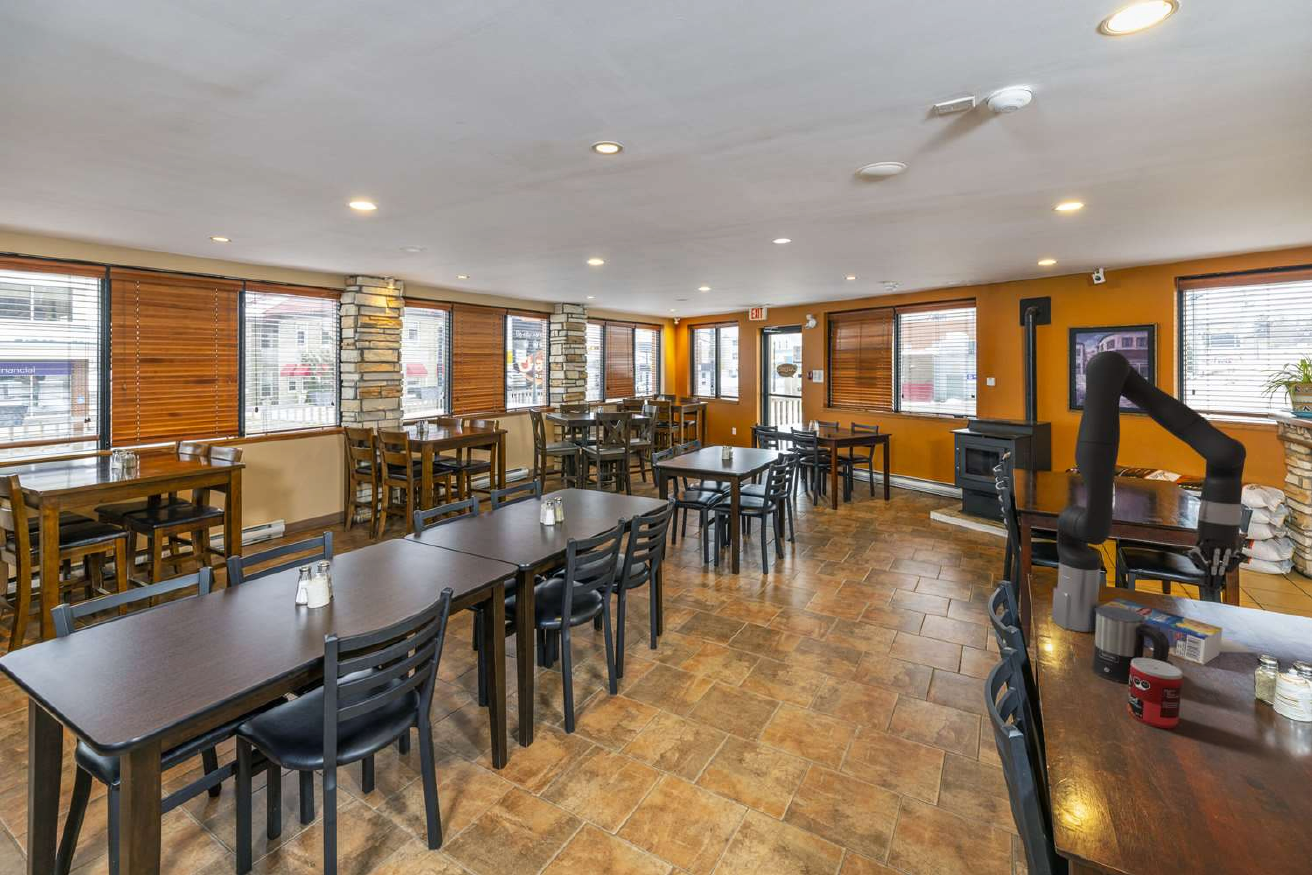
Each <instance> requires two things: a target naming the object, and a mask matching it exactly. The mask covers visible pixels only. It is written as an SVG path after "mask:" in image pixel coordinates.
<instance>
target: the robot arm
mask: <svg viewBox="0 0 1312 875" xmlns="http://www.w3.org/2000/svg"><path fill="white" fill-rule="evenodd" d="M1121 397H1123V398H1125V399H1126V400H1127V401H1129V402H1131V404H1133V405H1135V406H1136V407H1137V408H1139V409H1140V410H1141V411H1143V413H1145V414H1146V415H1147V416H1148V417H1149V418H1150V419H1151V420H1153V421H1154V422H1155V423H1157V424H1158V425H1159V426H1160V427H1162V428H1163V429H1165V430H1166V432H1169V433H1170V434H1171V435H1173V436H1174V437H1175V438H1177V439H1179V441H1181V442H1183V443H1185V444H1187V445H1188V446H1189V448H1191V449H1192V450H1194V451H1195V452H1196V453H1197V454H1198V455H1199V456H1200V457H1202V458H1203V459H1204V460H1205V477H1204V480H1203V484H1202V490H1201V500H1200V505H1199V507H1198V516H1197V526H1196V536H1197V541H1196V543H1195V547H1193V548H1192V549H1185V550H1184V554H1185V555H1186V557H1188V559H1189V560H1190V561H1191V563H1192V565H1193V566H1194V567H1195V569H1197V570H1199V571H1202V572H1203V573H1204V578H1203V586H1204V587H1205V588H1206V589H1209V590H1210V591H1211V590H1212V591H1214V590H1217V591H1218V590H1219V589H1220V588H1221V585H1222V578H1223V577H1222V576H1224V574H1231V573H1232V572H1233V571H1234V570H1235V569H1236V568H1237V567H1238V566H1239V565H1240V564H1241V563H1242V562H1243V561H1244V560H1246V558H1247V554H1246V553H1243V552H1242V551H1240V550H1238V545H1237V542H1238V541H1239V538H1240V530H1241V522H1242V497H1243V496H1242V495H1243V483H1242V481H1243V480H1242V478H1243V475H1244V474H1243V473H1244V468H1245V462H1246V458H1247V449H1246V446H1245V445H1244V444H1243V443H1242V442H1241V441H1239V440H1238V439H1236V438H1232V437H1231V436H1229V435H1227V434H1226V433H1224V432H1223V431H1221V430H1220V429H1219V428H1217V427H1215V426H1214V425H1212V423H1211V422H1210V421H1209V420H1208V419H1206V418H1205V417H1204V416H1202V415H1201V414H1199V413H1198V412H1197V411H1195V410H1194V409H1193V408H1191V407H1190V406H1188V405H1186V404H1185V403H1183V402H1182V401H1180V400H1179V399H1177V398H1175V397H1174V396H1172V395H1170V394H1168V393H1167V392H1165V391H1163V390H1162V389H1160V388H1158V387H1157V386H1156V385H1154V384H1153V383H1152V382H1150V381H1149V380H1148V379H1146V378H1145V376H1143V375H1142V374H1140V373H1139V372H1138V371H1137V369H1136V368H1134V367H1133V366H1132V365H1131V363H1130V362H1129V360H1128V359H1127V357H1126V356H1125V355H1124V354H1122V353H1120V352H1118V351H1114V350H1103V351H1100V352H1098V353H1096V354H1094V355H1092V356H1091V357H1090V358H1089V360H1088V361H1087V363H1086V364H1085V397H1084V398H1085V399H1084V406H1083V411H1082V414H1081V418H1080V422H1079V427H1078V432H1077V438H1076V444H1075V452H1074V461H1075V464H1076V467H1077V470H1078V472H1079V474H1080V476H1081V480H1082V481H1083V483H1084V487H1085V492H1086V502H1085V506H1080V505H1076V504H1071V505H1067V506H1065V507H1064V508H1063V509H1062V510H1061V512H1060V513H1059V515H1058V519H1057V524H1056V525H1057V526H1056V550H1057V554H1058V558H1059V562H1058V572H1057V573H1058V575H1057V577H1058V578H1057V587H1053V593H1052V594H1053V595H1052V596H1053V597H1052V611H1051V621H1053V622H1054V623H1055V624H1056V625H1058V626H1060V627H1061V628H1062V629H1064V630H1071V631H1075V632H1076V631H1077V632H1082V633H1083V632H1084V633H1089V632H1090V633H1091V632H1094V631H1096V617H1097V612H1096V610H1095V609H1096V607H1098V603H1099V588H1100V580H1101V579H1100V577H1101V576H1100V575H1101V564H1102V560H1101V557H1100V556H1099V555H1098V554H1096V553H1095V552H1094V551H1093V550H1092V549H1091V547H1090V546H1089V545H1093V546H1099V545H1100V546H1101V545H1102V544H1103V543H1105V542H1106V541H1107V540H1108V539H1109V537H1110V534H1111V531H1112V528H1113V511H1114V510H1113V508H1114V506H1113V505H1114V504H1113V503H1114V501H1113V500H1114V486H1115V476H1116V467H1117V462H1118V456H1119V450H1120V449H1119V448H1120V440H1121V422H1120V421H1121V420H1120V418H1121V417H1120V403H1121V402H1120V401H1121ZM1088 544H1089V545H1088Z"/></svg>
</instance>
